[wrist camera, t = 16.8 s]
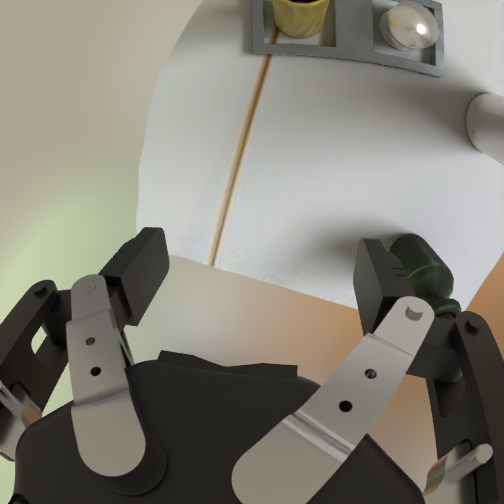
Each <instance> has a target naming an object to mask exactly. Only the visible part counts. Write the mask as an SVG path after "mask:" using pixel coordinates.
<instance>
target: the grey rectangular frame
mask: <svg viewBox="0 0 504 504" xmlns="http://www.w3.org/2000/svg"><path fill="white" fill-rule="evenodd" d="M392 1H396V2H401V3H399V4H397V5H396V6H394V7H393V8H391V9H390V10H388V11H387V12H386V13H384V14H383V16H382V17H381V19H380V31H381V34H382V36H383V37H384V39H385V40H386V41H387V42H388V43H389V44H390V45H391V46H393V47H394V48H396V49H398V50H401V51H412V50H417V49H422V48H427V47H430V46H431V65H429V64H425V63H421V62H417V61H413V60H409V59H405V58H400V57H395V56H390V55H385V54H380V53H374V52H373V11H372V0H334V29H335V47H328V46H315V45H298V44H264V0H252V42H253V54H254V55H301V56H318V57H330V58H340V59H348V60H356V61H363V62H370V63H376V64H382V65H387V66H393V67H398V68H402V69H407V70H411V71H416V72H420V73H424V74H428V75H432V76H435V77H440V78H444V31H443V14H442V4H441V3H438V2H435V1H432V0H392Z"/></svg>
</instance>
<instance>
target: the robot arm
mask: <svg viewBox="0 0 504 504" xmlns="http://www.w3.org/2000/svg"><path fill="white" fill-rule="evenodd" d="M466 128H467V133H468V136H469V138H470V140H471V142H472V144H473V145H474V146H475V148H477V149H478V150H479V151H480V152H482V153H484V154H486V155H488V156H489V157H491V158H493V159H495V160H496V161H498V162H500V163H502V164H503V165H504V97H503V96H498V95H493V94H487V93H484V94H480V95H478V96H476V97H475V98H474V99H473V100H472V101H471V103H470V105H469V107H468V110H467V114H466ZM168 270H169V256H168V251H167V245H166V240H165V234H164V231H163V229H162V228H156V227H145V228H143V229H142V230H141V231H140V233H139V234H138V235H137V236H136V237H135V238H133V239H131V240H129V241H128V242H126V243H125V244H123V246H122V247H121V248H120V249H119V250H118V252H117V253H116V254H115V255H114V256H113V258H111V259H110V261H109V262H108V263H107V264H106V265H105V266H104V267H103V269H102V270H101V271H100V272H99V273H98V274H97V275H96V274H92V275H87V276H84V277H82V278H80V279H79V280H77V281H76V282H75V283H74V284H73V286H72V288H71V289H70V290H61V291H58V290H57V287H56V285H55V283H54V282H53V281H52V280H42V281H40V282H37V283H36V284H34V285H33V286H31V288H30V289H29V290H28V291H27V292H26V293H25V294H24V296H23V297H22V298H21V299H20V301H19V302H18V303H17V304H16V305H15V307H14V308H13V309H12V310H11V312H10V313H9V314H8V315H7V317H6V318H5V319H4V321H3V322H2V323H1V325H0V455H1V456H3V457H4V458H5V459H7V460H9V461H15V484H14V491H13V495H12V498H11V500H10V501H9V503H8V504H504V361H503V358H502V355H501V353H500V351H499V348H498V346H497V343H496V341H495V339H494V337H493V334H492V332H491V330H490V328H489V326H488V324H487V322H486V321H485V320H484V319H483V318H482V317H481V316H480V315H478V314H476V313H474V312H470V311H463V312H460V313H459V314H458V315H457V317H456V319H455V321H450V320H446V319H442V318H439V317H436V316H434V311H433V309H432V308H431V306H430V305H429V304H428V303H427V302H425V301H424V300H422V299H419V298H417V297H416V295H415V293H414V290H413V288H412V286H411V284H410V281H409V279H408V277H406V273H405V270H403V266H402V264H401V262H400V260H399V259H398V258H397V257H396V256H395V255H394V254H393V253H391V252H386V251H385V249H384V247H383V245H382V243H381V241H380V239H367V238H362V239H361V240H360V244H359V249H358V254H357V259H356V264H355V269H354V276H353V285H354V290H355V295H356V300H357V304H358V309H359V314H360V319H361V325H362V330H363V335H364V338H363V339H362V340H361V341H360V342H359V344H358V345H357V346H356V347H355V349H354V350H353V351H352V352H351V354H350V355H349V356H348V357H347V358H346V359H345V360H344V362H343V363H342V364H341V365H340V366H339V368H337V369H336V371H335V372H334V373H333V374H332V375H331V376H330V377H329V378H328V380H327V381H326V382H325V383H324V384H323V385H322V386H320V385H319V384H317V383H315V382H313V381H311V380H309V379H306V378H304V377H301V376H297V367H298V366H297V365H280V364H268V363H260V364H251V365H240V366H230V367H224V366H221V365H218V364H215V363H212V362H209V361H207V360H204V359H201V358H198V357H196V356H193V355H189V354H182V353H175V352H169V351H163V350H161V352H160V354H159V357H158V359H157V360H149V361H144V362H140V363H137V364H135V363H134V360H133V357H132V354H131V351H130V347H129V344H128V341H127V337H126V334H125V332H124V327H125V325H132V326H138V324H139V322H140V320H141V319H142V317H143V315H144V313H145V311H146V310H147V308H148V306H149V304H150V303H151V301H152V299H153V297H154V296H155V294H156V292H157V290H158V289H159V287H160V285H161V284H162V282H163V280H164V278H165V276H166V275H167V273H168ZM41 326H42V328H43V330H44V331H45V333H46V335H47V336H46V338H45V339H44V341H43V343H42V344H41V346H40V348H39V349H38V351H37V352H36V354H34V352H33V350H32V348H31V342H32V339H33V337H34V335H35V334H36V332H37V331H38V329H39V328H40V327H41ZM68 361H69V368H70V377H71V384H72V391H73V398H74V400H72V401H70V402H69V403H67V404H65V405H64V406H62V407H60V408H58V409H57V410H55V411H53V412H51V413H49V414H48V415H46V416H44V417H43V418H42V412H43V410H44V408H45V406H46V404H47V402H48V400H49V398H50V396H51V394H52V392H53V390H54V388H55V386H56V384H57V382H58V379H59V378H60V376H61V374H62V373H63V371H64V369H65V367H66V365H67V363H68ZM405 374H409V375H413V376H418V377H422V378H426V383H427V388H428V394H429V399H430V405H431V411H432V417H433V424H434V432H435V438H436V448H437V458H438V461H437V462H435V463H434V464H433V466H432V467H431V468H430V470H429V472H428V475H427V482H426V487H425V489H424V492H423V493H422V492H421V490H420V489H419V487H418V486H417V485H416V484H415V483H414V482H413V481H412V480H411V479H410V478H409V476H408V475H407V474H405V472H404V471H403V470H402V469H401V468H400V467H399V466H398V465H397V464H396V463H395V462H394V461H393V460H392V459H391V458H390V457H389V456H388V455H387V454H386V452H385V451H383V449H382V448H381V447H380V446H379V445H378V444H377V443H376V442H375V441H374V440H373V439H372V438H371V437H370V435H369V434H368V433H367V431H368V430H369V429H370V427H371V426H372V424H373V423H374V422H375V420H376V419H377V417H378V416H379V414H380V413H381V411H382V410H383V408H384V407H385V405H386V404H387V402H388V401H389V399H390V397H391V396H392V395H393V393H394V391H395V390H396V388H397V386H398V384H399V383H400V381H401V380H402V378H403V376H404V375H405ZM463 377H464V378H463Z"/></svg>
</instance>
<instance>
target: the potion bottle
mask: <svg viewBox="0 0 504 504" xmlns="http://www.w3.org/2000/svg"><path fill="white" fill-rule="evenodd" d="M390 252H391V253H393V254H394V255H395V256H396V257H397V258H398V259H399V260H400V262H401V264H402V266H403V270H405V273H406V277H408V279H409V281H410V284H411V286H412V288H413V290H414V293H415V295H416V297H417V298H419V299H422V300H424V301H425V302H427V303H428V304H429V305H430V306H431V308H432V309H433V311H434V316H436V317H439V318H442V319H446V320H450V321H455V319H456V317H457V315H458V314H459V313H460V312H461V307H460V304H459V302H458V301H456V300H455V299H450V296H451V294H452V292H453V282H454V278H453V275H452V273H451V271H450V269H449V268H448V267H447V266H446V264H445V263H444V262H443V261H442V260H441V258H440V257H439V256H438V255H437V254H436V253H435V251H434V250H433V249H432V248H431V247H430V246H429V244H428V243H427V242H426V241H425V240H424V239H423V238H421V237H420V236H418V235H413V234H410V235H406V236H403V237H401V238H400V239H398V240H397V241H396V242H395V243H394V244H393V246H392V247H391V250H390Z"/></svg>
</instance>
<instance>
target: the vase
mask: <svg viewBox="0 0 504 504" xmlns="http://www.w3.org/2000/svg"><path fill="white" fill-rule="evenodd" d="M329 1H330V0H272V4H273V8H274V14H273V16H274V22H275V24H276V26H277V27H278V28H279V29H280V31H281V32H283V33H284V34H286V35H288V36H290V37H293V38H308V37H311V36H313V35H315V34H317V33H318V32H319V31H320V30H321V28H322V27H323V25H324V18H325V14H326V11H327V8H328V4H329Z"/></svg>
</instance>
